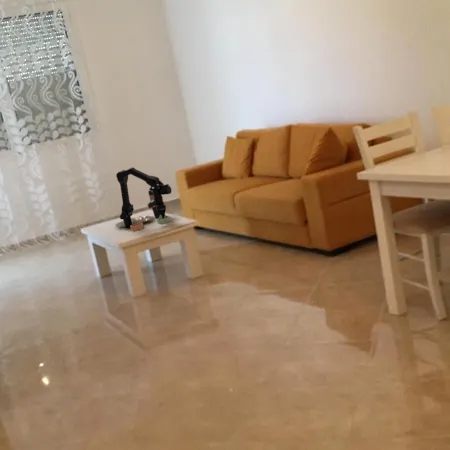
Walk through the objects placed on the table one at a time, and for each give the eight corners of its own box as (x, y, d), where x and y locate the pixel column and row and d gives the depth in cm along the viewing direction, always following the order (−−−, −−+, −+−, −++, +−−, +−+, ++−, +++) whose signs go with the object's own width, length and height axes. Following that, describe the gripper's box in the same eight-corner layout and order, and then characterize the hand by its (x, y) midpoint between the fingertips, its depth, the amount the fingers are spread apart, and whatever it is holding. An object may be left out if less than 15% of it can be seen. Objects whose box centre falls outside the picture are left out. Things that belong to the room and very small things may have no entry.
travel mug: (154, 217, 505) (148, 190, 501) (164, 214, 506) (158, 188, 501) (154, 219, 498) (148, 192, 493) (165, 217, 498) (158, 190, 494)
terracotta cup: (129, 229, 483) (128, 225, 482) (139, 226, 487) (138, 222, 486) (134, 231, 476) (133, 226, 475) (145, 227, 480) (144, 223, 479)
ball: (159, 221, 485) (157, 215, 484) (165, 219, 487) (163, 212, 486) (162, 222, 480) (160, 215, 479) (168, 220, 483) (166, 213, 482)
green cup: (156, 223, 485) (155, 219, 485) (166, 219, 489) (165, 215, 489) (161, 224, 478) (160, 219, 478) (171, 220, 483) (170, 216, 482)
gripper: (145, 196, 487) (150, 217, 491) (147, 200, 469) (152, 222, 473) (160, 192, 489) (165, 213, 493) (163, 196, 471) (168, 218, 475)
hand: (162, 217), depth 483 cm, fingers open, 9 cm apart
